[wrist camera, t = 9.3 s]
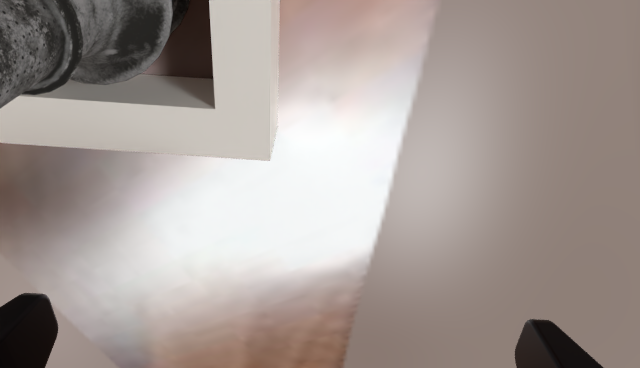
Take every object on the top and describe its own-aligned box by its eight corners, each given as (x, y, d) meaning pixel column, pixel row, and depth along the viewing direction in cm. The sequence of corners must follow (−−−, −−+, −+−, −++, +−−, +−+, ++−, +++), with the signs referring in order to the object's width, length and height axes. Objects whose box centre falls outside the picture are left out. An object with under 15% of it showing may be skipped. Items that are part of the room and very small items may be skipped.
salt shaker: (12, -110, 17) (-483, -92, 7) (179, -124, 16) (-74, -128, 6) (71, 57, 20) (-206, 244, 10) (212, 49, 20) (77, 233, 9)
